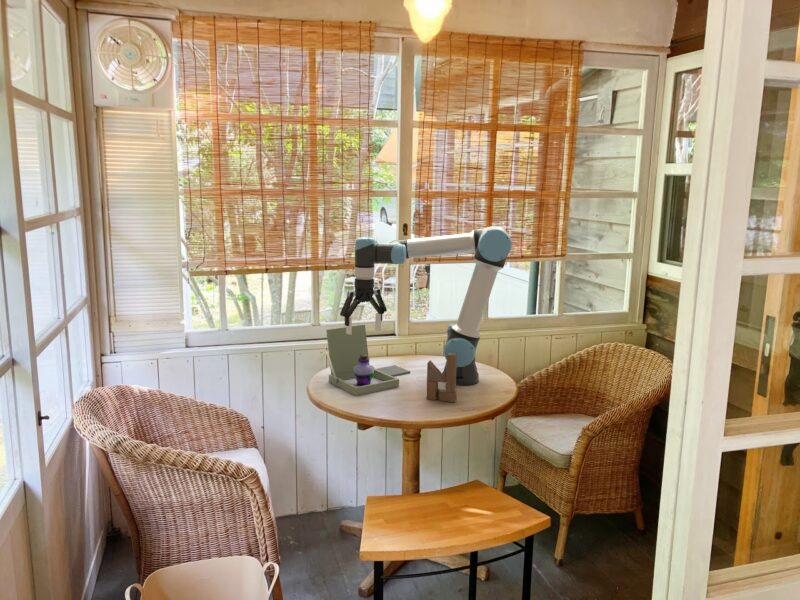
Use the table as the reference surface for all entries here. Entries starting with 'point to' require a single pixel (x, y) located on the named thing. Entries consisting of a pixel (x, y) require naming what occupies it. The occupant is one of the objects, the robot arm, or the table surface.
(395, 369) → the pad
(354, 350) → the case
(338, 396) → the table surface
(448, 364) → the wooden block
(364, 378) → the potion bottle
